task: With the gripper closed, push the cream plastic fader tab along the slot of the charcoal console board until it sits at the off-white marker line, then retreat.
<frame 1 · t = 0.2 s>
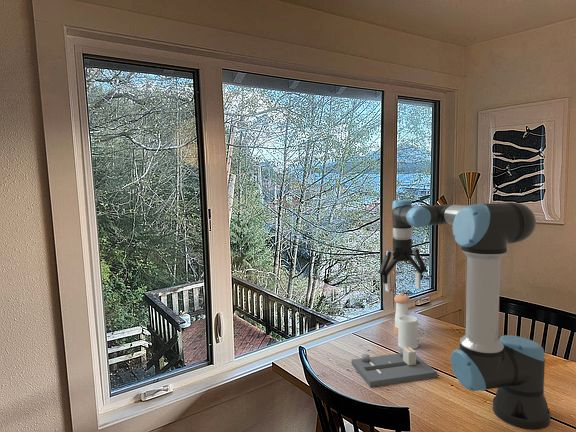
hand: (402, 289, 163), 27 cm above the table, fingers open, 13 cm apart
fader tab: (409, 355, 152), point 5 cm above the table, slide at -7.0 cm
mug: (411, 346, 173), on the table
pepper shaker: (402, 333, 187), on the table
console board: (392, 370, 151), on the table
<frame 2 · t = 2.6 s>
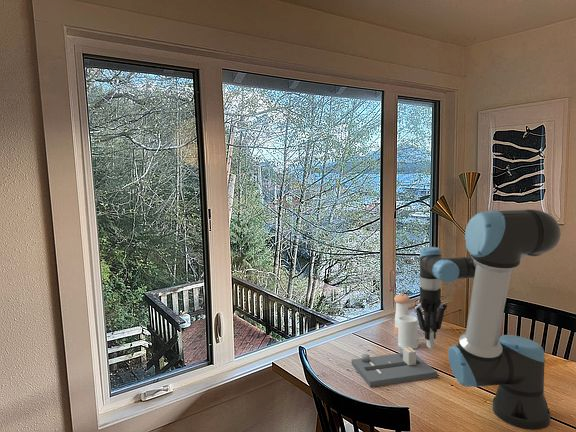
hand: (430, 347, 154), 7 cm above the table, fingers closed
nothing on the table moved.
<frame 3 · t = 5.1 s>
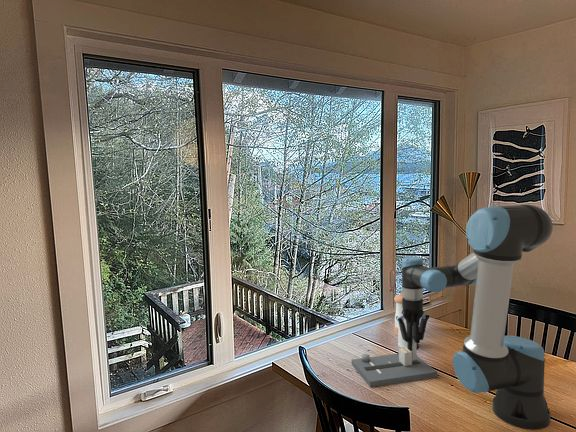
hand: (413, 357, 153), 4 cm above the table, fingers closed
fader tab: (405, 356, 152), point 5 cm above the table, slide at -5.3 cm, touching gripper
everything else where it was.
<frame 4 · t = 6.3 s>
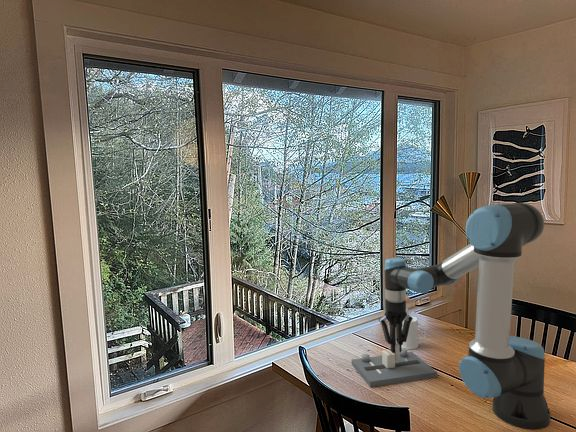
hand: (396, 360, 152), 4 cm above the table, fingers closed
fader tab: (388, 358, 151), point 5 cm above the table, slide at 1.7 cm, touching gripper
everything else where it was.
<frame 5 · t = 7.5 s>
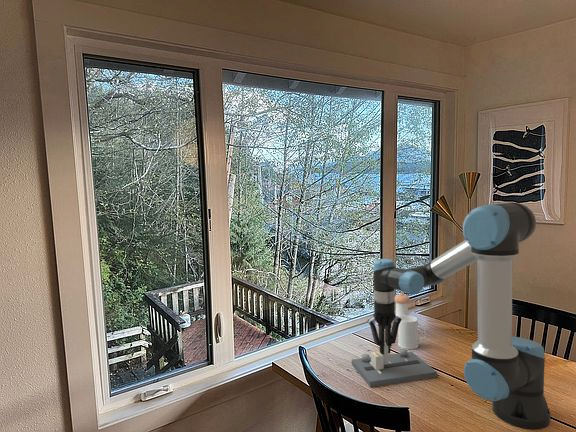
hand: (385, 361, 151), 4 cm above the table, fingers closed
fader tab: (377, 360, 150), point 5 cm above the table, slide at 6.2 cm, touching gripper
everything else where it was.
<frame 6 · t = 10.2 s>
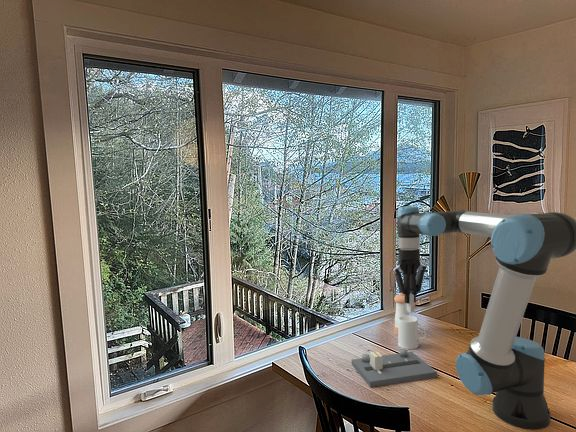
hand: (410, 311, 148), 23 cm above the table, fingers closed
fader tab: (376, 360, 150), point 5 cm above the table, slide at 6.6 cm
everything else where it was.
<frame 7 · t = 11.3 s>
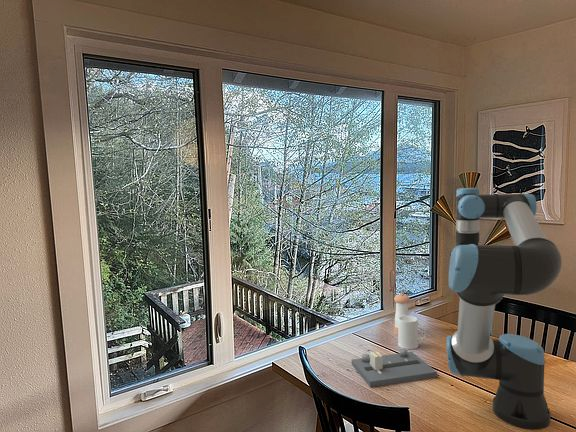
hand: (467, 296, 143), 29 cm above the table, fingers closed
nothing on the table moved.
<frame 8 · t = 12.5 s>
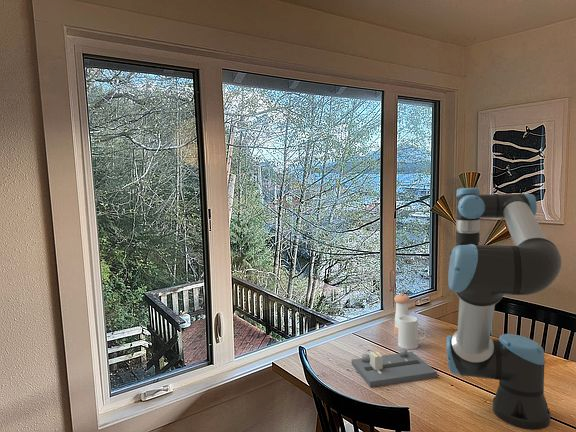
hand: (467, 296, 143), 29 cm above the table, fingers closed
nothing on the table moved.
at the end: fader tab slide at 6.6 cm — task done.
